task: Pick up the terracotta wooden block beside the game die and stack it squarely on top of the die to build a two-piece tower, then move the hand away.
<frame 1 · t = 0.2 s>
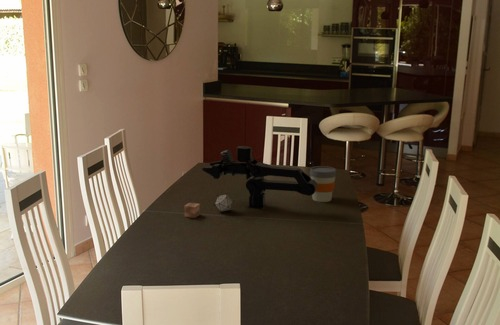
hand: (206, 166, 259), 17 cm above the table, tool horizontal, fingers open, 9 cm apart
reusable coffee cup: (321, 199, 267), on the table
game die: (223, 211, 248), on the table
terracotta block: (192, 215, 242), on the table
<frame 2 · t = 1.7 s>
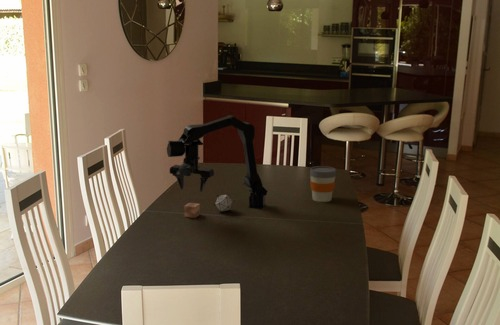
hand: (191, 190, 240), 11 cm above the table, tool pointing down, fingers open, 9 cm apart
nothing on the table moved.
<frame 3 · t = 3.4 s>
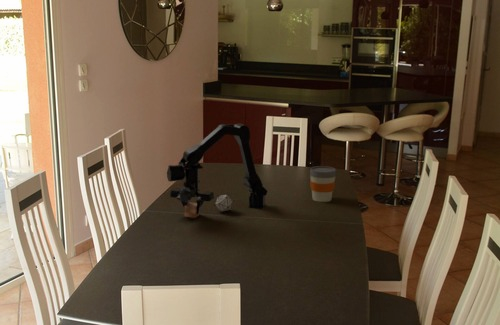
hand: (192, 213, 242), 1 cm above the table, tool pointing down, fingers closed on terracotta block, 5 cm apart
terracotta block: (192, 215, 242), on the table, touching gripper
everything else where it was.
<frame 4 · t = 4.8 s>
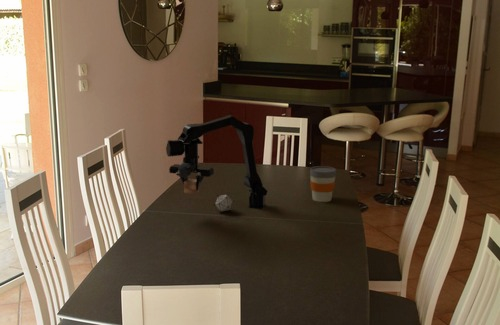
hand: (191, 189, 239), 12 cm above the table, tool pointing down, fingers closed on terracotta block, 5 cm apart
terracotta block: (191, 191, 240), point 11 cm above the table, touching gripper
everything else where it was.
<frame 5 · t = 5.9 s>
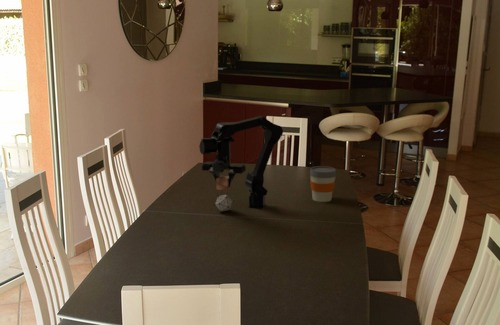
hand: (223, 186, 245), 12 cm above the table, tool pointing down, fingers closed on terracotta block, 5 cm apart
terracotta block: (223, 188, 245), point 11 cm above the table, touching gripper
everything else where it was.
when the fingers open (9 cm above the table, at t = 6.7 s): terracotta block stays where it is, resting on game die.
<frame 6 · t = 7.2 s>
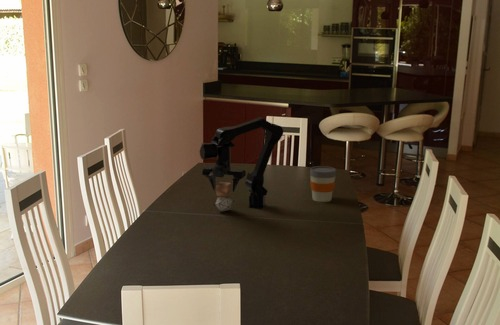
hand: (223, 191, 246), 9 cm above the table, tool pointing down, fingers open, 9 cm apart
game die: (223, 211, 248), on the table, touching terracotta block
terracotta block: (223, 194, 246), point 8 cm above the table, touching game die
everything else where it was.
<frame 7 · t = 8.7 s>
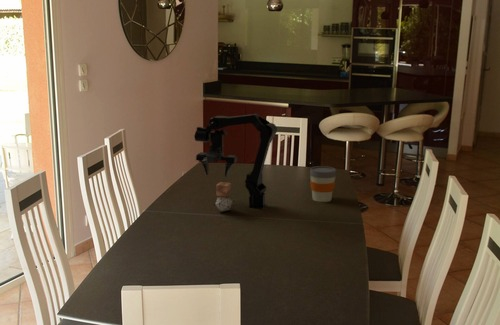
hand: (216, 175, 260), 12 cm above the table, tool pointing down, fingers open, 9 cm apart
nothing on the table moved.
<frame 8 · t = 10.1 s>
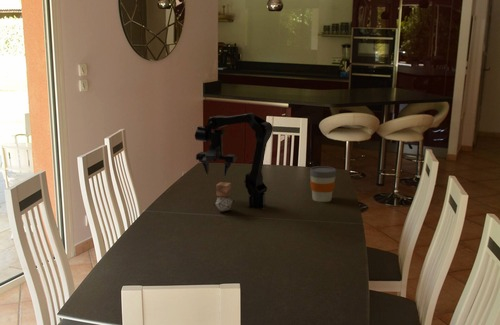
hand: (216, 174, 263), 12 cm above the table, tool pointing down, fingers open, 9 cm apart
nothing on the table moved.
at the end: terracotta block 0.1 cm off-centre on the game die, point 8.0 cm above the game die's base; terracotta block tilted 0°; game die moved 0.2 cm from its start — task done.
